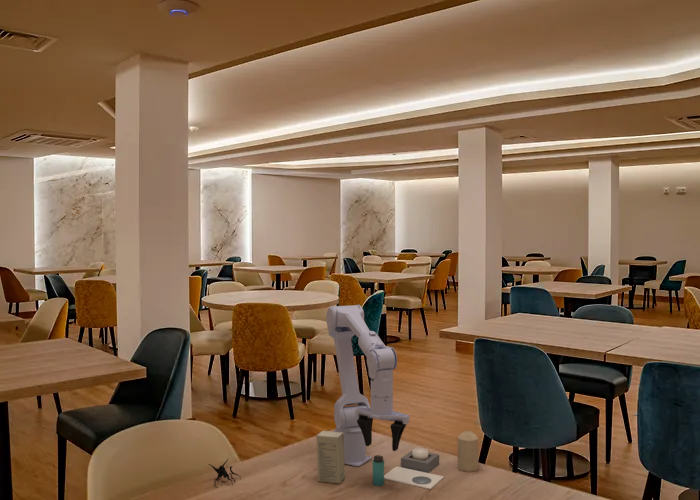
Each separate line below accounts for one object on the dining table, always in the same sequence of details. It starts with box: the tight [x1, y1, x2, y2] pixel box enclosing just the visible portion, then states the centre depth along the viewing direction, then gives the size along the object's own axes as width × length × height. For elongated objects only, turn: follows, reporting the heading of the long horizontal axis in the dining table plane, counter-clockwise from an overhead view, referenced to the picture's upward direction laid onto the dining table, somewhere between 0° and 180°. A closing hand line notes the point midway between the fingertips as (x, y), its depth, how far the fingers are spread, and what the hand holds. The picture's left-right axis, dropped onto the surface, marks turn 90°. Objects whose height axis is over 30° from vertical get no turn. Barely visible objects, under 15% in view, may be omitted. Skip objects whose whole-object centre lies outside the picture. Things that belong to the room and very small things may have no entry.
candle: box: [457, 430, 479, 473], centre depth 172 cm, size 6×6×10 cm
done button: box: [411, 447, 429, 461], centre depth 174 cm, size 4×4×3 cm
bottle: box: [372, 454, 385, 487], centre depth 161 cm, size 3×3×7 cm
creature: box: [207, 458, 242, 488], centre depth 163 cm, size 8×5×8 cm
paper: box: [384, 466, 445, 490], centre depth 165 cm, size 14×9×1 cm, turn 59°
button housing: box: [400, 450, 440, 473], centre depth 174 cm, size 8×8×3 cm
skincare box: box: [316, 430, 346, 484], centre depth 164 cm, size 6×4×12 cm
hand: (381, 447), depth 161 cm, fingers open, 7 cm apart
